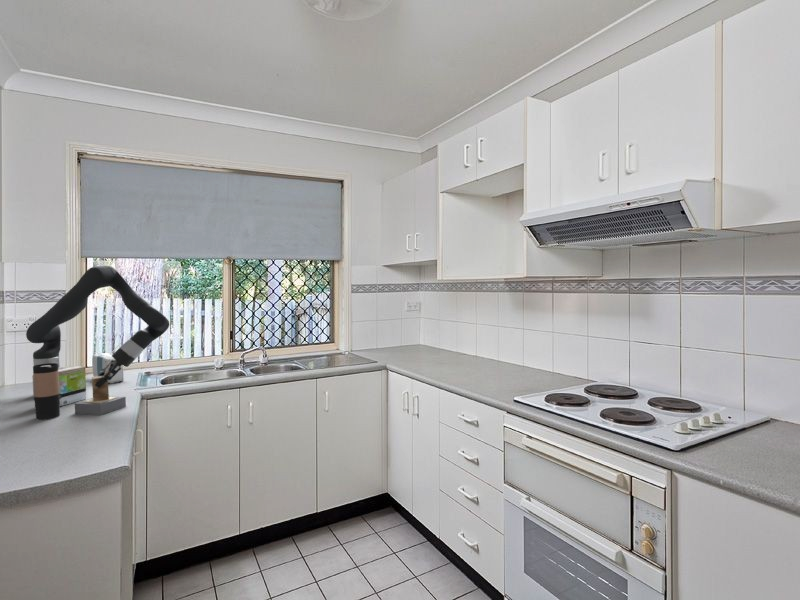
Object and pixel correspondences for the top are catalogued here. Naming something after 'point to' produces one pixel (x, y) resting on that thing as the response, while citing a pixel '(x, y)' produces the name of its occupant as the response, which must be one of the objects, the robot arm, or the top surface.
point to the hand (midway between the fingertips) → (96, 384)
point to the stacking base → (100, 405)
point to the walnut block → (99, 390)
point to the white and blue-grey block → (101, 362)
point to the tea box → (72, 384)
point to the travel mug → (46, 391)
